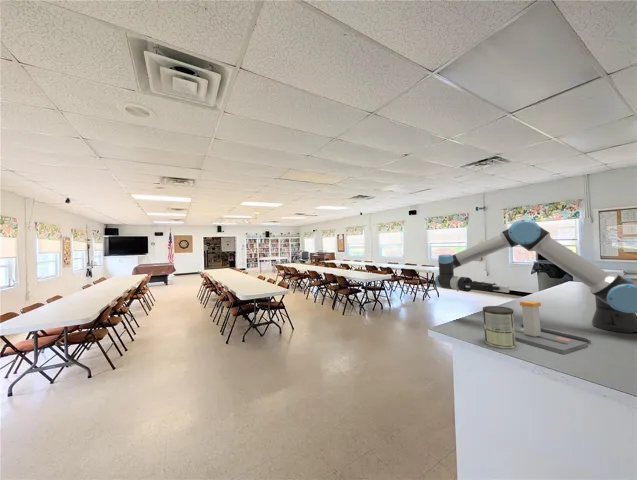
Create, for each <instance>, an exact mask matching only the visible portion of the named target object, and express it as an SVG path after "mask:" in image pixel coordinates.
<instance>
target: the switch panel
mask: <svg viewBox="0 0 637 480" xmlns="http://www.w3.org/2000/svg"><path fill="white" fill-rule="evenodd" d="M514 330H515V342H519V343H522V344H526V345H528V346H533V347H536V348H538V349H539V348H540V349H544V350H546V351H550V352H553V353H556V354H557V353H558V354H561V355H567V354H569V353H572V352H577V351H579V350H583V349H585V347H586V348H588V347H589V343H587V342H582V341H578V340H574V339H570V338H565V337H561V336H557V335H553V334H549V333H544V332H541V335H540V336H536V337H534V336H530V335H526V334H524V328H523V327H521V326H518V325H515V324H514ZM582 348H583V349H582Z"/></svg>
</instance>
